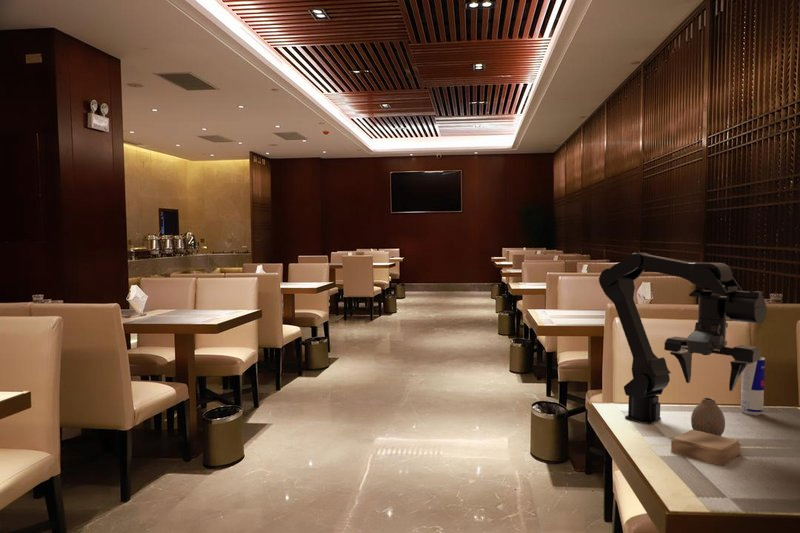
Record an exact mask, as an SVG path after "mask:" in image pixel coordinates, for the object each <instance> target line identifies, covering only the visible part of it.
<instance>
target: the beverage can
mask: <svg viewBox="0 0 800 533" xmlns="http://www.w3.org/2000/svg"><path fill="white" fill-rule="evenodd" d="M765 359H766V358H765V357H762V356H760V360H758V361H756V362H753V363H751V364H749V365H747V366H746V367H745V369H744V370H743V372H742V373H741V383H740V384H741V388H740V389H741V391H740V410H741V411H742V412H743V413H744V414H745V415H748V416H760V415H762V414H763V413H764V402H765V401H764V400H765V399H764V398H765V374H766V373H765V371H766V361H765Z"/></svg>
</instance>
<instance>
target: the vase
mask: <svg viewBox="0 0 800 533" xmlns="http://www.w3.org/2000/svg"><path fill="white" fill-rule="evenodd" d="M690 425H691V428H692V430H696V431H701V432H705V433H709V434H714V435H718V436H723V434H724V432H725V429H726V418H725V415H724V413H723V411H722V409H721V408H720V407H719V405H718V404H717V403H716V399H714V398H712V397H703V398H702V399H701V401H700V403H698V404H697V405H696V407H695V408H694V409H693V410H692V413H691V417H690Z"/></svg>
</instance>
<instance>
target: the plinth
mask: <svg viewBox="0 0 800 533" xmlns="http://www.w3.org/2000/svg"><path fill="white" fill-rule="evenodd" d="M670 445H671V446H670V447H671V448H670V452H671V453H672V454H676V455H678V456H679V455H680V456H684V457H686V458H691V459H694V460H695V459H696V460H698V461H703V462H705V463H706V462H707V463H709V464H714V465H718V466H721V467H722V466H724V465H726V464H727V463H729V462H730V461H732V460H734V459H735V458H736V457H739V456H740V455H741V442H739V439H735V438H730V437H727V436H723V435H721V436H718V435H714V434H709V433H705V432H701V431H696V430H693V429H689V430H687V431H686V432H683V433H682V434H679V435H678V436H674V437H673V440H671V444H670Z"/></svg>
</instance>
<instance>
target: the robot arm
mask: <svg viewBox="0 0 800 533" xmlns="http://www.w3.org/2000/svg"><path fill="white" fill-rule="evenodd" d="M645 271H649V272H654V273H659V274H663V275H667V276H668V275H669V276H672V277H677V278H681V279H684V280H686V281H687V282H689V283H691V284H693V285H695V286H697V287H696V288H695V289H694V290H693V291H692V292H690V293H689V294H688V296H689V297H692V298H698V310H697V321H696V322H695V326H694V330H693V331H692V332H691V333H690V334H689V335H688V336H687V337H680V336H671V337H669V338H668V337H667V338H666V339H665V342H664V345H663V346H664V347H663V348H664V351H669V354H670V355H672V356H674V357H675V358H676V360H677V361H678V362H679V365H680V368H681V371H682V373H683V377H684V379H685V383H686V384H690V382H691V379H692V378H691V377H692V360H693V358H692V357H693V354H701V355H703V356H710V355H711V354H716V355H723V356H731V357H732V358H733V359H734V360H731V361H730V367H731V369H730V376H729V383H728V384H729V385H728V387H729V391H730V392H732V391H734V389H735V387H736V385H737V383H738V381H739V380H740V376H742V372H743V370H744V369H745V367H746V366H747V365H749V364H751V363H753V362H756V361H758V360H760V357H761V353H762V352H761V350H760V348H759V346H751V345H745V344H744V345H743V344H738V345H736V346H733V347H732V346H727V345H728V340H726V337H727V328H728V326H729V325H728V322H727V317H728V318H729V320H731V321H733V322H742V323H743V322H744V323H750V324H757V325H759V324H762V323H764V321H765V320H766V317H767V311H768V306H767V305H766V300H765V298H763V295H764V294H763V291H759V290H757V291H755V290H754V291H745V290H744V291H743V290H742V288H741V286H740V285H739V284H738V282H737V281H736V279H735V278H734V276H733V272H732V269H731V268H730V266H729V265H727V264H726V263H724V262H690V261H685V260H679V259H674V258H669V257H664V256H658V255H652V254H650V253H648V252H634V253H632V254H631V255H629V256H628V257H626V258H625V259H623V260H621V261H619V262H617V263H615V264H614V265H612V266H611V267H610V268H605V269H603V270H602V271H601V273H600V274H599V277H598V283H599V286H600V288H601V289H602V291H603V293H604V295H605V297H607V298H608V299H609V300H610V301H611V302H612V303H613V305H614V307H615V311H616V314H617V316H618V320H619V322H620V324H621V327H622V330H623V334H624V337H625V339H626V342H627V345H628V346H629V347H628V348H629V349H630V354H631V356H632V364H631V375H632V379H631V380H630V381H629V382H628V383H626V384H625V385H624V386H623V390H624V394H625V396H626V397H628V403H627V404H628V409H627V410H628V411H627V415H625V416H624V419H626V420H630V421H635V422H638V423H643V424H648V425H651V424H654V423H656V422H658V421H661V419H662V417H661V403H660V402H659V395H662V394H663V391H664V389H666V387H667V386H668V385H669V383H670V374H671V371H670V370H669V368H668V366H667V361H666V359H665V357H658V356H657V355H656V354H655V353H654V351H653V348H652V346H651V344H650V341H649V337H648V335H647V332H646V329H645V327H644V324H643V321H642V319H641V316H640V314H639V310H638V307H637V305H636V303H635V298H634V296H635V290H636V287H635V282H634V281H635V280H637V279H639V278H640V276H641V275H642V274H643V273H644V272H645ZM708 289H709V290H708Z"/></svg>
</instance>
